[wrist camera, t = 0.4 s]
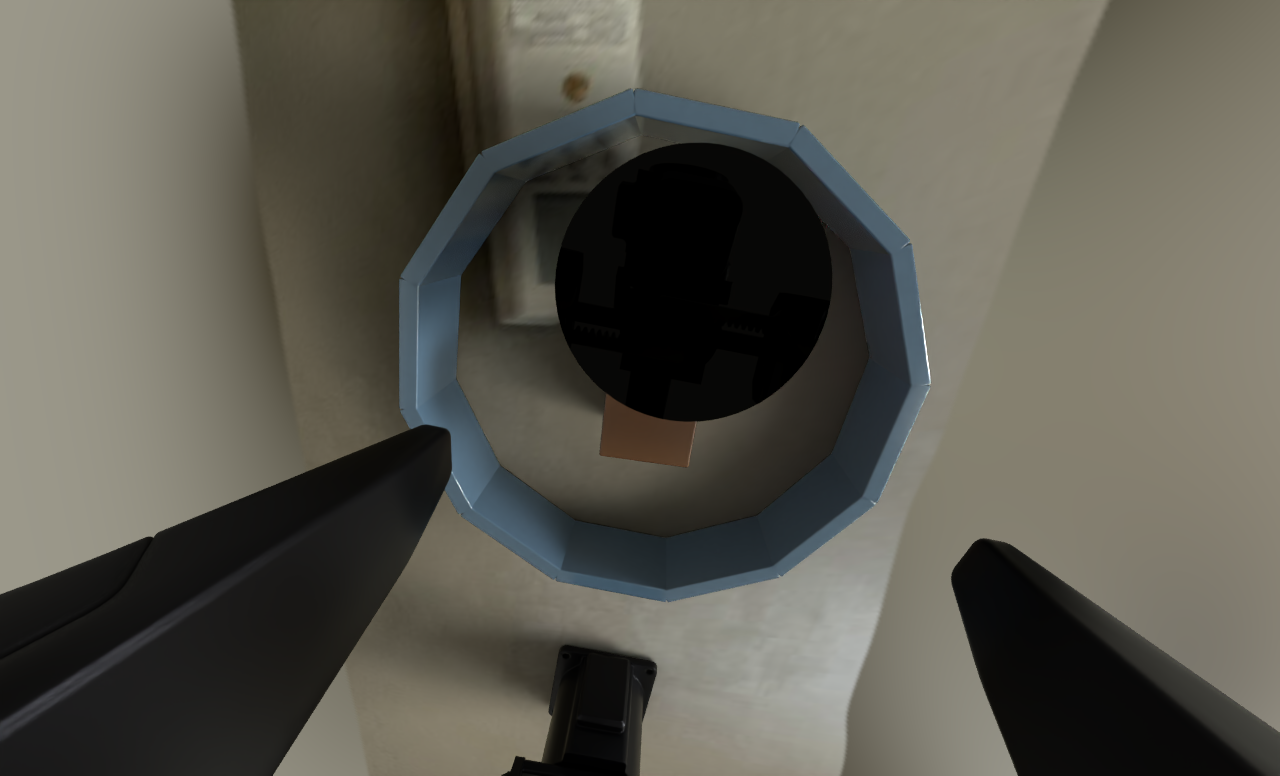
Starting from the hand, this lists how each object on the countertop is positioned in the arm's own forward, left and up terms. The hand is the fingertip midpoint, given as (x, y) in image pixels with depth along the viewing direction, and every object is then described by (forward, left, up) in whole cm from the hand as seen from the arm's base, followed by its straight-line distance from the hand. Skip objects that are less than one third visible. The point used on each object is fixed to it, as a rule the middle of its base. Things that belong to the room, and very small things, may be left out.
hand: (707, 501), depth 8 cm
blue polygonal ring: (-3, +1, -15) cm, 15 cm away
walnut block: (-4, +1, -15) cm, 15 cm away
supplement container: (+3, +1, -15) cm, 15 cm away
